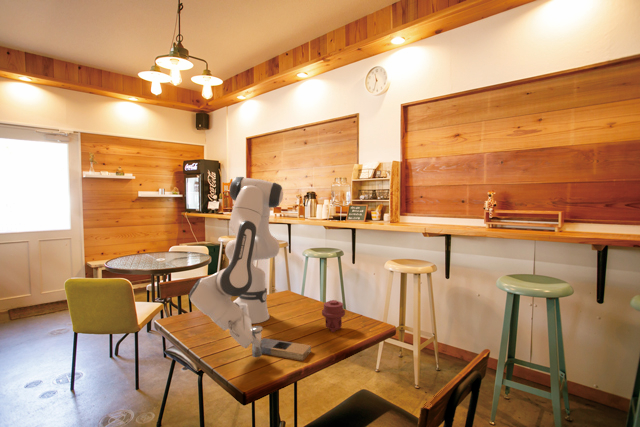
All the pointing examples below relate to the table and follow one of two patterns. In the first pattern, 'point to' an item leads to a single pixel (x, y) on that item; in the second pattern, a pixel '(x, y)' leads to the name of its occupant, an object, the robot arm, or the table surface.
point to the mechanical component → (333, 314)
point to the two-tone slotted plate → (291, 351)
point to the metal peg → (257, 334)
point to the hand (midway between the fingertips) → (258, 341)
